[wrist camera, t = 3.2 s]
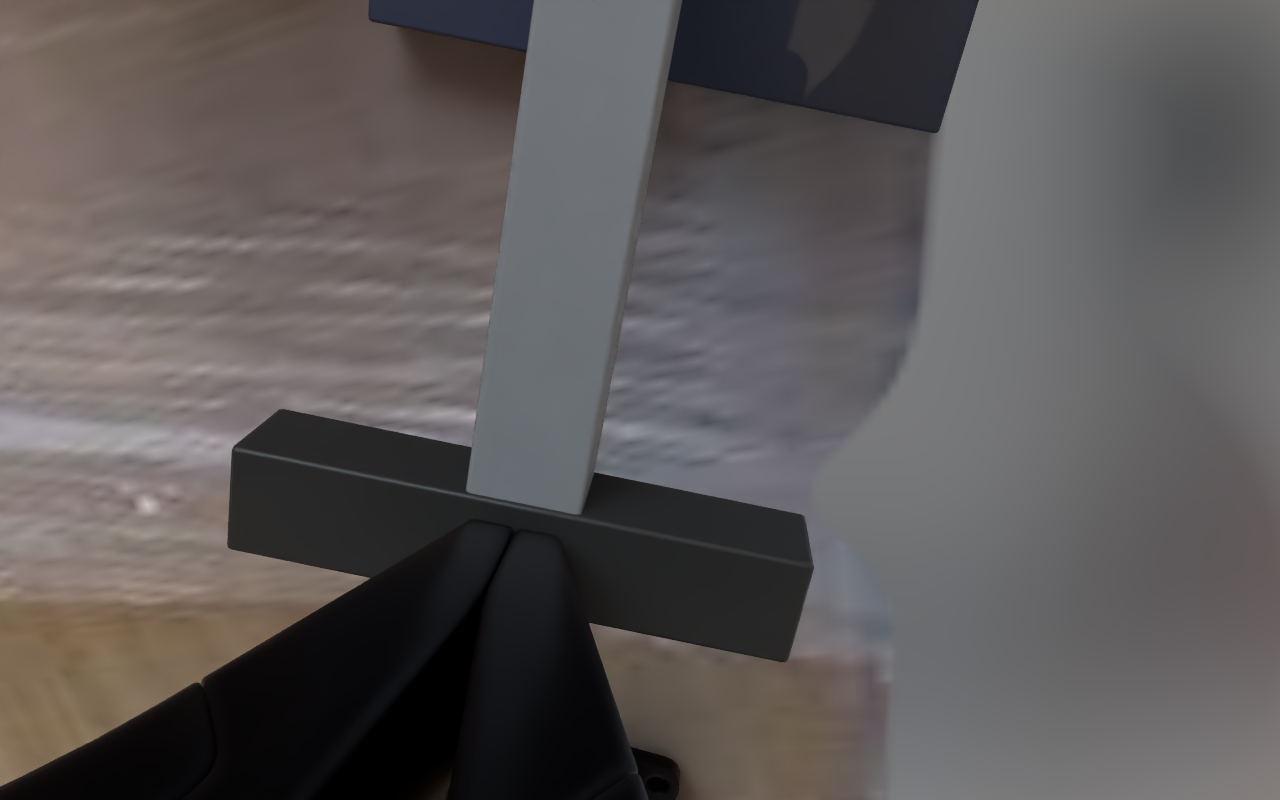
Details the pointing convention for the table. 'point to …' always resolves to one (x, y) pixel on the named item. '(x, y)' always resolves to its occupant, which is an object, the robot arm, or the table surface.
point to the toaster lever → (547, 387)
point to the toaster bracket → (769, 48)
